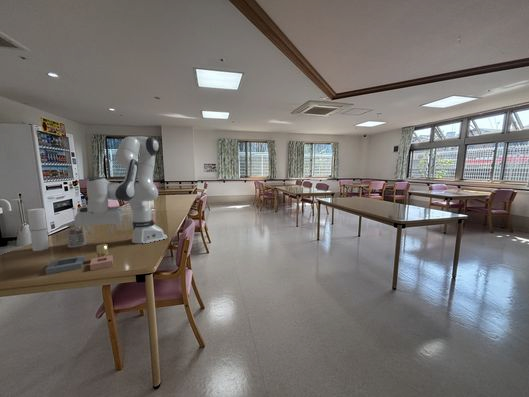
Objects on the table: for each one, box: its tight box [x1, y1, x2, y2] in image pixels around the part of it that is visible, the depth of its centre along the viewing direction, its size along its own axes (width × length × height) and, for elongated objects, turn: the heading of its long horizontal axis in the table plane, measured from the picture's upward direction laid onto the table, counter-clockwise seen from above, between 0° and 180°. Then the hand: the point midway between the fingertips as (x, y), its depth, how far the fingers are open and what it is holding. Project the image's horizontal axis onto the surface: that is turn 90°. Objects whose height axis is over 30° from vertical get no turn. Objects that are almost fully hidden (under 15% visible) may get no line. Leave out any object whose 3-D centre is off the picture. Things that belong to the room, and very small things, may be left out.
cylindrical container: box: [27, 207, 50, 252], centre depth 135 cm, size 7×7×25 cm
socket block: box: [44, 254, 85, 275], centre depth 112 cm, size 13×13×2 cm
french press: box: [63, 207, 87, 248], centre depth 142 cm, size 10×12×25 cm
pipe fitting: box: [95, 243, 110, 258], centre depth 121 cm, size 6×6×8 cm
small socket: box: [89, 254, 114, 271], centre depth 113 cm, size 9×9×3 cm
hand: (100, 232), depth 119 cm, fingers open, 8 cm apart
